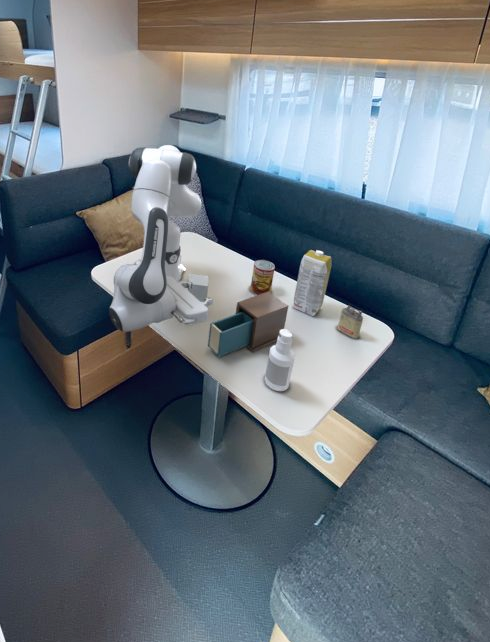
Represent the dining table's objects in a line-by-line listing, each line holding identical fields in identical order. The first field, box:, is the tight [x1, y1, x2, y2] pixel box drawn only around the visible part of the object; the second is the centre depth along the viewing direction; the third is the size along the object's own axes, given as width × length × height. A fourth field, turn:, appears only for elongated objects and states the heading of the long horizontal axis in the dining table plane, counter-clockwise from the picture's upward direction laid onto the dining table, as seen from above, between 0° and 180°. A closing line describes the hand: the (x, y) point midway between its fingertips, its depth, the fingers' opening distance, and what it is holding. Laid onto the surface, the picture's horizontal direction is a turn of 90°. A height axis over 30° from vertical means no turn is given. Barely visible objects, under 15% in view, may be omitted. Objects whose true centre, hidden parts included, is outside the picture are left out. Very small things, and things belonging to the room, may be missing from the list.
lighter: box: [336, 304, 364, 339], centre depth 141 cm, size 7×4×10 cm, turn 37°
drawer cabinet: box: [235, 292, 289, 352], centre depth 138 cm, size 10×14×13 cm
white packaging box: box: [186, 273, 209, 302], centre depth 151 cm, size 7×7×13 cm
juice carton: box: [293, 249, 332, 317], centre depth 151 cm, size 9×8×24 cm
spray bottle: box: [264, 328, 296, 392], centre depth 118 cm, size 7×7×18 cm
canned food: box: [250, 259, 276, 296], centre depth 164 cm, size 8×8×12 cm
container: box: [207, 311, 254, 358], centre depth 132 cm, size 6×14×9 cm, turn 118°
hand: (201, 292), depth 125 cm, fingers open, 8 cm apart
